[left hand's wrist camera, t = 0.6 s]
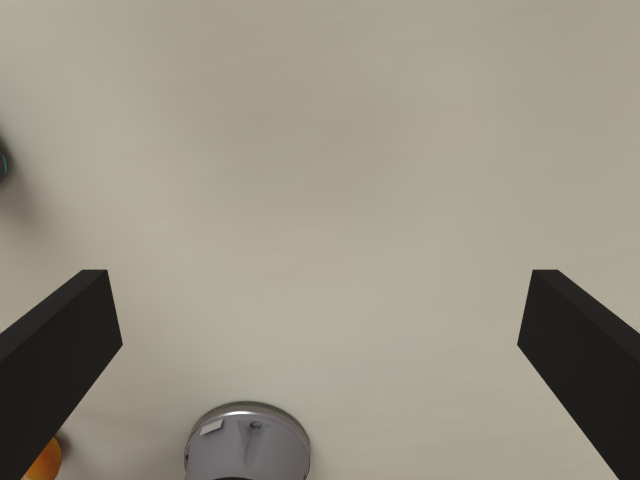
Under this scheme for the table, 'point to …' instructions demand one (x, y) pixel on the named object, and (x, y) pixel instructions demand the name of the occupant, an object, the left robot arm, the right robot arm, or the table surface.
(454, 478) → the table surface
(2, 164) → the ballet flat
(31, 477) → the fruit
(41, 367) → the left robot arm
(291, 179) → the table surface
